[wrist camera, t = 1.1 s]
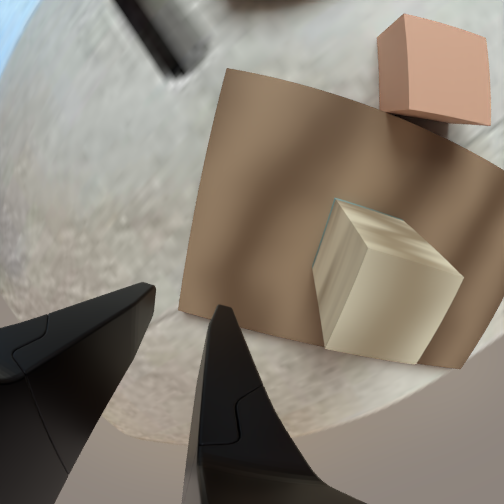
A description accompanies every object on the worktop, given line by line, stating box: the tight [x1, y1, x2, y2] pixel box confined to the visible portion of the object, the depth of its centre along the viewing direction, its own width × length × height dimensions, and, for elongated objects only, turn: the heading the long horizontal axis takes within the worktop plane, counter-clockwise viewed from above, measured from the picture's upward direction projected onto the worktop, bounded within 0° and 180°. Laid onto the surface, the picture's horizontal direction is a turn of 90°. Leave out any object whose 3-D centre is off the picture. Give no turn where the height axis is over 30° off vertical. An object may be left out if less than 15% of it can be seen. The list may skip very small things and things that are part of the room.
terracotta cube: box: [377, 14, 491, 126], centre depth 13 cm, size 5×5×5 cm
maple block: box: [312, 198, 464, 365], centre depth 15 cm, size 4×4×8 cm
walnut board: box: [178, 68, 504, 369], centre depth 19 cm, size 24×16×1 cm, turn 76°
